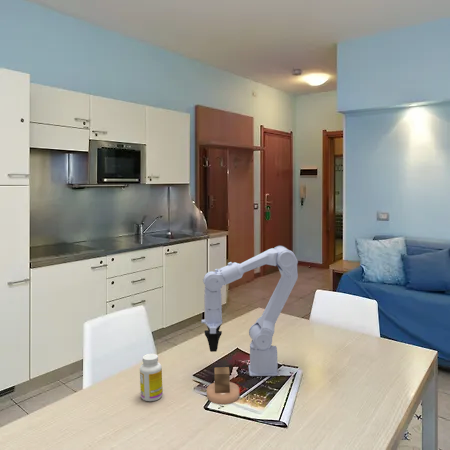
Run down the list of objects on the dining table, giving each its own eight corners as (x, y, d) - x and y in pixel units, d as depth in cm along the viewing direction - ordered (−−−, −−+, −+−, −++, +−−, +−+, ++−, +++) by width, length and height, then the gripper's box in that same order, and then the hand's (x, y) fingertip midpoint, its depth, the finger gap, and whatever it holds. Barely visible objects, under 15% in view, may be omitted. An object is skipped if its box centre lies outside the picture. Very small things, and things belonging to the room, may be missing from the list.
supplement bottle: (166, 393, 131) (165, 353, 130) (156, 403, 125) (154, 362, 124) (147, 389, 133) (146, 351, 132) (136, 400, 127) (135, 359, 126)
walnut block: (229, 385, 131) (228, 367, 131) (229, 392, 127) (229, 373, 126) (214, 385, 131) (214, 367, 131) (214, 393, 127) (214, 374, 126)
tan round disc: (238, 388, 135) (238, 380, 134) (240, 404, 125) (240, 396, 124) (206, 389, 134) (206, 381, 134) (206, 405, 124) (206, 397, 124)
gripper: (202, 301, 148) (202, 338, 149) (200, 314, 133) (200, 355, 135) (222, 301, 148) (222, 338, 149) (222, 314, 133) (222, 355, 135)
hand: (213, 346), depth 142 cm, fingers open, 7 cm apart
